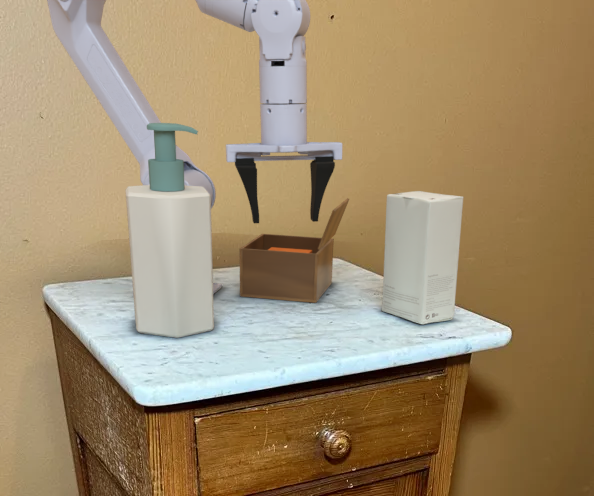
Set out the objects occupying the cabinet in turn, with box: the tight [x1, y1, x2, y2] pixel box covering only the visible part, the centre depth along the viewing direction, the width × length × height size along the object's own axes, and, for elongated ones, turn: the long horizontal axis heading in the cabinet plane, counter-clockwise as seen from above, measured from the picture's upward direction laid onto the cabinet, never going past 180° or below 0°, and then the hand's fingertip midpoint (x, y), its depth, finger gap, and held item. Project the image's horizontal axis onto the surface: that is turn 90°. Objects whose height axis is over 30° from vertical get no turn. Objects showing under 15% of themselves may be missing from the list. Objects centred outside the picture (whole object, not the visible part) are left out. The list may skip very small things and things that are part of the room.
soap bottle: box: [125, 122, 215, 339], centre depth 88 cm, size 10×9×22 cm
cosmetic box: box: [381, 190, 465, 325], centre depth 97 cm, size 8×6×15 cm
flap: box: [318, 197, 350, 250], centre depth 105 cm, size 12×5×1 cm
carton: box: [239, 233, 335, 304], centre depth 110 cm, size 12×11×6 cm
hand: (285, 221), depth 101 cm, fingers open, 7 cm apart
